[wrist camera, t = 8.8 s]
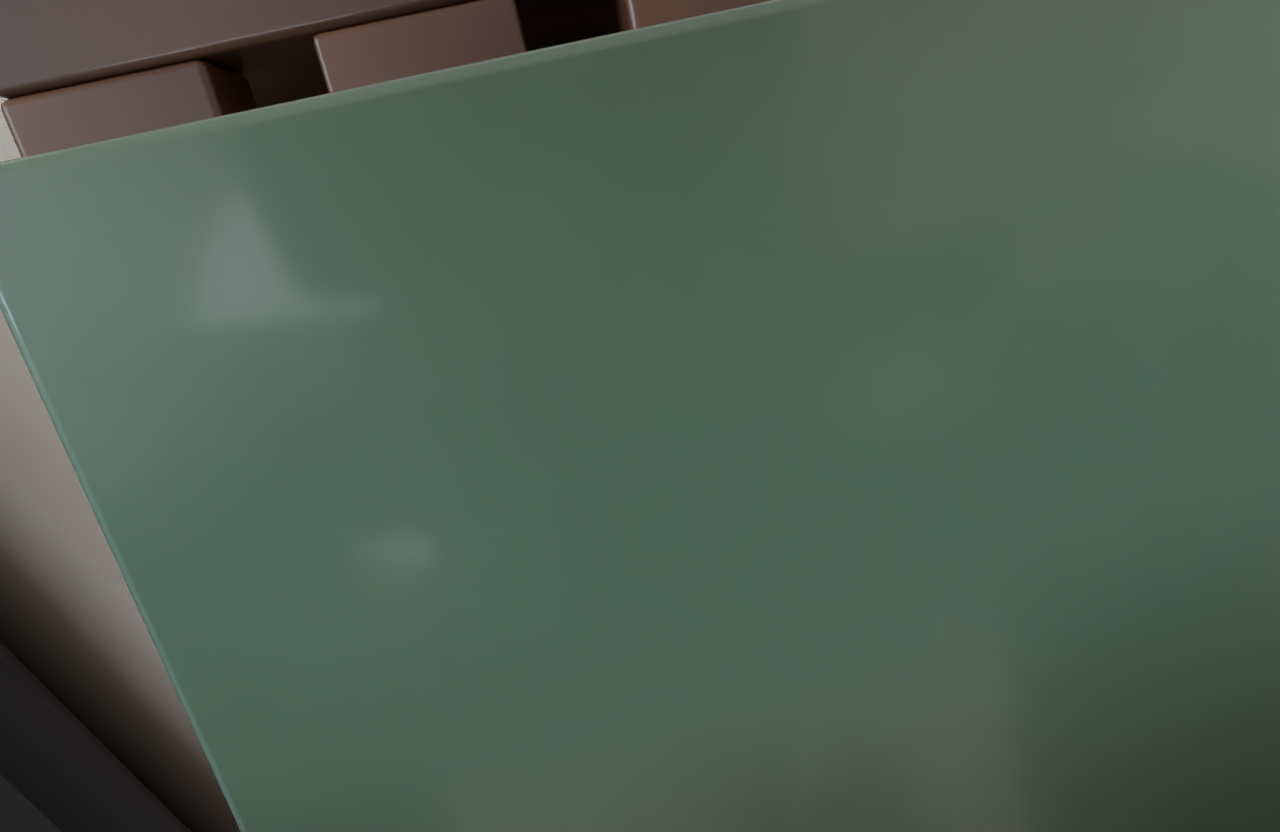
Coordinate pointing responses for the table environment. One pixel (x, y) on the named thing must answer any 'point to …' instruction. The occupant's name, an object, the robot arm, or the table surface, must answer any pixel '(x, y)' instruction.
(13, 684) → the dark leather journal
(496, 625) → the green rectangular block
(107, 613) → the table surface
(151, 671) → the table surface
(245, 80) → the rack
